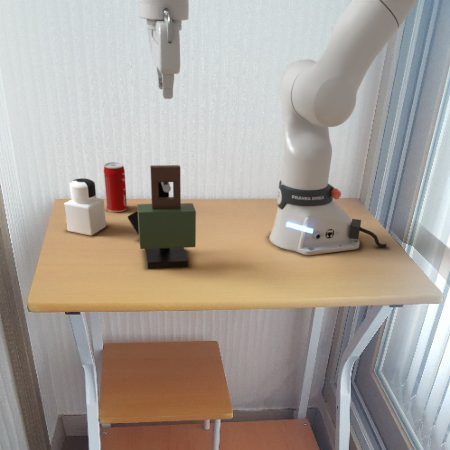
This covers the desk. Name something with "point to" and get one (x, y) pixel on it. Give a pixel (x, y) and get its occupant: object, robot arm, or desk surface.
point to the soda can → (115, 187)
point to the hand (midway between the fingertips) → (165, 93)
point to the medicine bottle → (84, 208)
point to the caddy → (166, 214)
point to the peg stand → (165, 255)
